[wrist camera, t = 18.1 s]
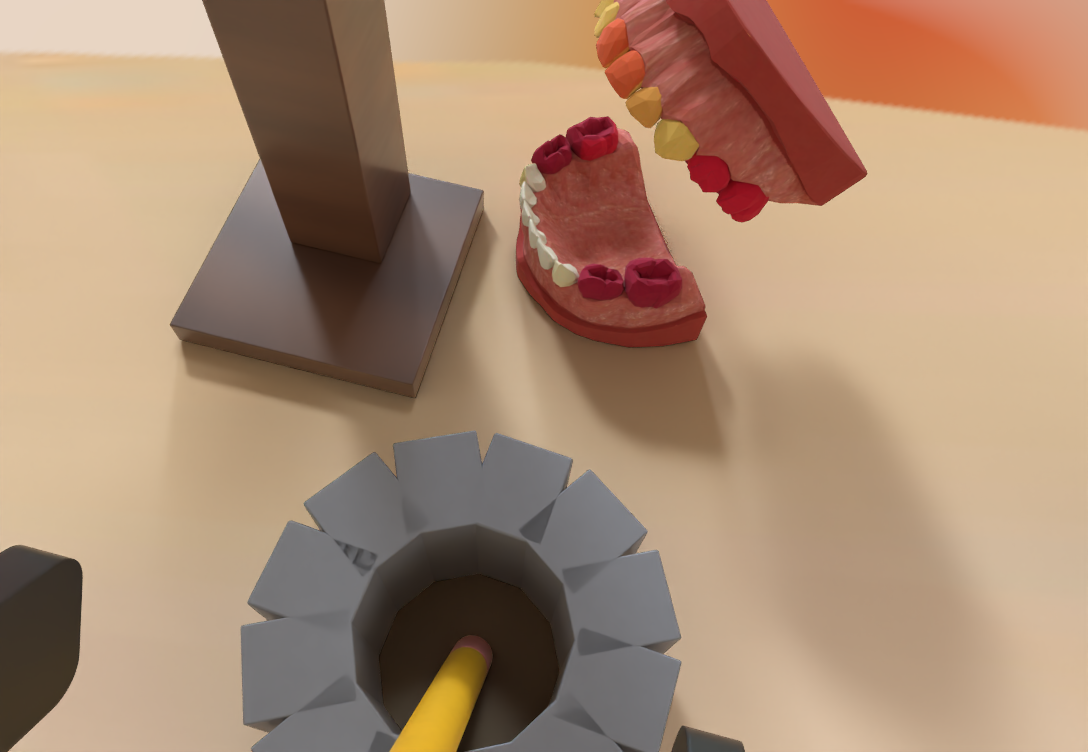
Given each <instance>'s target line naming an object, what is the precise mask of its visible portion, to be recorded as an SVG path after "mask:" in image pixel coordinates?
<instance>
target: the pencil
mask: <svg viewBox="0 0 1088 752" xmlns="http://www.w3.org/2000/svg"><path fill="white" fill-rule="evenodd" d="M492 657H493V656H492V650H491V647H490V646H489V644H488V643H487V642H486V641H485V640H484V639H483V638H481V637H479V636H474V635H470V636H465V637H463V638H461V639H460V640H459V641H458V642H457V643H456V644H455V646H454V647H453V649H452V650H451V652H450V654H449V655H448V657H447V659H446V660H445V662H444V663H443V665H442V667H441V668H440V670H439V672H438V673H437V675H436V676H435V678H434V680H433V681H432V683H431V685H430V686H429V688H428V689H427V691H426V693H425V694H424V696H423V698H422V699H421V701H420V703H419V704H418V706H417V707H416V709H415V711H414V712H413V714H412V716H411V717H410V719H409V720H408V722H407V724H406V725H405V727H404V729H403V730H402V732H401V733H400V735H399V737H398V738H397V740H396V742H395V743H394V745H393V746H392V748H391V750H390V751H389V752H456V751H457V748H458V746H459V743H460V741H461V738H462V736H463V733H464V731H465V728H466V726H467V723H468V721H469V718H470V716H471V713H472V711H473V708H474V706H475V703H476V701H477V698H478V696H479V693H480V691H481V688H482V686H483V683H484V681H485V678H486V676H487V673H488V671H489V668H490V666H491V663H492Z"/></svg>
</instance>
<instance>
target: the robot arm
mask: <svg viewBox="0 0 1088 752" xmlns="http://www.w3.org/2000/svg"><path fill="white" fill-rule="evenodd" d="M82 579H83V577H82V568H81V566H80V564H79V562H78V561H76V560H75V559H71V558H68V557H64V556H60V555H57V554H53V553H49V552H46V551H42V550H38V549H34V548H31V547H27V546H23V545H15V546H12V547H10V548H8V549H6V550H4V551H3V552H1V553H0V752H8V751H9V750H10V749H11V748H12V747H13V746H14V745H15V744H16V743H17V742H18V741H19V740H20V739H21V738H22V737H23V736H24V735H26V734H27V733H28V732H29V731H30V730H31V729H32V728H33V727H34V726H35V725H36V724H37V723H38V722H39V721H40V720H41V719H42V718H43V717H45V716H46V715H47V714H48V713H49V712H50V711H51V710H52V709H53V708H54V707H55V706H56V705H57V704H58V702H59V701H60V700H61V699H62V697H63V696H64V694H65V693H66V691H67V689H68V688H69V686H70V684H71V682H72V680H73V677H74V675H75V672H76V669H77V665H78V661H79V649H80V626H81V602H82ZM672 752H745V750H744V746H743V744H742V742H740V741H738V740H734V739H730V738H727V737H723V736H719V735H715V734H712V733H708V732H704V731H701V730H697V729H693V728H690V727H686V726H682V727H681V728H680V730H679V732H678V734H677V737H676V739H675V742H674V746H673V749H672Z"/></svg>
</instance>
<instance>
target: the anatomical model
mask: <svg viewBox="0 0 1088 752" xmlns="http://www.w3.org/2000/svg"><path fill="white" fill-rule="evenodd" d="M594 15H595V17H599V18H600V19H599V21H598V23H597V25H596V27H595V34H594V36H596V37H597V38H599V40H598V41H597V44H596V48H597V54H598V58H599V60H600V62H601V64H602V66H603V67H604V68H607V69H606V70H605V74H606V76H607V78H608V80H609V82H610V84H611V85H612V87H613V88H614V90H615V91H616V93H617V94H618V95H619V96H620V97H621V98H623V99H628V98H629V97H630V96H631V97H630V98H629V99H628V100H627V101H626V107H627V108H628V110H629V112H630V114H631V115H632V116H633V117H634V118H635V119H636V120H637V121H639V122H640V123H641V124H642V125H643V126H644V127H647V128H651V127H652V126H653V125H654V124H655V123H656V122H657V121H658V120H659V119H660V118H661V119H662V120H661V121H660V122H659V123H657V126H656V130H655V134H654V144H655V153H656V154H658V155H659V156H661V157H662V158H665V159H671V160H677V161H686V163H687V164H688V166H687V167H688V169H689V171H690V179H691V180H692V181H694V182H696V183H698V184H699V186H700V188H701V189H702V191H703V192H717V193H718V194H719V196H718V198H717V200H716V202H717V203H718V205H719V206H721V207H722V210H723V211H724V212H725V213H727V214H731V217H732V219H734V220H735V221H738V222H745V221H749V220H751V219H752V218H754V217H755V216H756V215H758V214H759V213H760V211H761V210H762V208H763V207H764V206H765V204H766V203H767V202H768V201H773V202H777V203H802V204H811V205H819V206H822V205H824V204H825V203H827V202H828V201H830V200H831V199H833V198H834V197H836V196H837V195H839V194H840V193H842V192H843V191H845V190H846V189H848V188H849V187H851V186H852V185H854V184H855V183H857V182H858V181H860V180H861V179H863V178H864V177H866V175H867V171H866V169H865V167H864V165H863V164H862V162H861V160H860V158H859V157H858V155H857V153H856V152H855V150H854V148H853V147H852V145H851V143H850V141H849V140H848V138H847V136H846V135H845V133H844V131H843V129H842V128H841V126H840V124H839V123H838V121H837V119H836V117H835V116H834V114H833V112H832V111H831V109H830V107H829V106H828V104H827V102H826V100H825V99H824V97H823V95H822V94H821V92H820V90H819V88H818V87H817V85H816V83H815V82H814V80H813V78H812V77H811V75H810V73H809V71H808V70H807V68H806V66H805V65H804V63H803V61H802V60H801V58H800V56H799V55H798V53H797V51H796V49H795V48H794V46H793V45H792V43H791V41H790V39H789V38H788V36H787V34H786V33H785V31H784V29H783V28H782V26H781V24H780V23H779V21H778V19H777V18H776V16H775V14H774V13H773V11H772V9H771V7H770V6H769V4H768V2H767V1H766V0H601V2H600V4H599V6H598V7H597V10H596V11H595V14H594ZM640 88H641V89H640ZM638 89H640V90H638ZM637 90H638V91H637ZM531 161H532V164H528V165H527V166H525V167H524V170H523V172H522V175H521V178H520V183H519V184H520V186H521V192H520V199H519V200H520V209H521V217H520V228H519V234H518V237H517V244H516V268H517V275H518V277H519V279H520V280H521V282H522V283H523V285H524V287H525V288H526V290H527V291H528V292H529V294H530V295H531V296H532V297H533V299H534V300H535V301H537V302H538V303H539V304H540V305H541V306H542V308H543V309H544V310H545V311H546V312H547V314H548V315H549V316H550V317H551V318H552V319H553V320H554V321H555V322H557V323H558V324H560V325H561V326H563V327H565V328H567V329H568V330H570V331H572V332H573V333H575V334H577V335H580V336H583V337H586V338H589V339H592V340H595V341H599V342H604V343H610V344H615V345H620V346H626V347H649V346H665V345H671V344H676V343H681V342H687V341H692V340H697V338H698V336H699V333H700V331H701V329H702V327H703V324H704V322H705V320H706V318H707V315H706V312H705V304H704V301H703V299H702V296H701V294H700V291H699V289H698V286H697V284H696V281H695V279H694V276H693V274H692V272H691V271H689V270H688V269H687V268H686V267H685V266H676V264H675V262H674V260H673V258H672V256H671V255H670V252H669V250H668V248H667V245H666V243H665V241H664V238H663V236H662V234H661V231H660V229H659V227H658V224H657V222H656V219H655V217H654V215H653V212H652V210H651V208H650V205H649V203H648V201H647V197H646V191H645V186H644V181H643V176H642V171H641V165H640V157H639V151H638V148H637V146H636V145H635V143H634V142H633V140H632V138H631V136H630V134H629V132H627V131H625V130H622V129H618V128H617V127H616V124H615V123H614V122H613V121H612V120H611V119H610V118H609V117H608V116H607V117H600V118H596V117H589V118H588V119H586V120H584V121H583V122H581V123H578V124H576V125H574V126H572V127H570V128H569V129H568V130H567V134H566V138H565V137H564V136H562V135H558V136H556V137H555V138H553V139H552V140H551V141H546V142H545V143H544V144H543V145H541V146H540V147H539V148H537V149H536V151H535V152H534V154H533V156H532V159H531Z"/></svg>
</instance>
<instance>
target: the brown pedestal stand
mask: <svg viewBox="0 0 1088 752" xmlns="http://www.w3.org/2000/svg"><path fill="white" fill-rule="evenodd" d="M202 1H203V4H204V6H205V9H206V12H207V14H208V17H209V20H210V23H211V26H212V28H213V31H214V34H215V37H216V39H217V42H218V44H219V48H220V50H221V53H222V56H223V58H224V61H225V64H226V67H227V69H228V72H229V75H230V78H231V80H232V83H233V86H234V89H235V91H236V94H237V97H238V99H239V102H240V105H241V108H242V110H243V113H244V116H245V119H246V121H247V124H248V127H249V130H250V132H251V135H252V138H253V140H254V143H255V146H256V149H257V151H258V154H259V157H260V159H259V161H258V163H257V165H256V167H255V169H254V170H253V172H252V174H251V176H250V178H249V180H248V181H247V183H246V185H245V187H244V189H243V191H242V193H241V194H240V196H239V198H238V200H237V202H236V204H235V205H234V207H233V209H232V211H231V213H230V215H229V216H228V218H227V220H226V222H225V224H224V226H223V227H222V229H221V231H220V233H219V235H218V237H217V239H216V240H215V242H214V244H213V246H212V248H211V250H210V251H209V253H208V255H207V257H206V259H205V261H204V262H203V264H202V266H201V268H200V270H199V272H198V273H197V275H196V277H195V279H194V281H193V283H192V285H191V286H190V288H189V290H188V292H187V294H186V296H185V297H184V299H183V301H182V303H181V305H180V307H179V308H178V310H177V312H176V314H175V316H174V318H173V319H172V321H171V323H170V326H171V327H172V329H173V330H174V332H175V333H176V335H177V336H178V338H179V339H180V340H184V341H188V342H192V343H196V344H200V345H204V346H208V347H212V348H216V349H220V350H224V351H228V352H232V353H236V354H240V355H244V356H248V357H252V358H256V359H260V360H264V361H268V362H272V363H276V364H280V365H284V366H288V367H292V368H296V369H300V370H304V371H308V372H312V373H316V374H320V375H324V376H328V377H332V378H337V379H341V380H345V381H349V382H353V383H357V384H361V385H365V386H369V387H373V388H377V389H381V390H385V391H389V392H393V393H397V394H401V395H405V396H409V397H413V398H415V397H416V395H417V392H418V389H419V387H420V384H421V381H422V378H423V375H424V373H425V370H426V367H427V364H428V362H429V359H430V356H431V353H432V350H433V348H434V345H435V342H436V339H437V336H438V334H439V331H440V328H441V325H442V323H443V320H444V317H445V314H446V311H447V309H448V306H449V303H450V300H451V298H452V295H453V292H454V289H455V286H456V284H457V281H458V278H459V275H460V273H461V270H462V267H463V264H464V261H465V259H466V256H467V253H468V250H469V247H470V245H471V242H472V239H473V236H474V234H475V231H476V228H477V225H478V222H479V220H480V217H481V214H482V211H483V209H484V192H483V190H479V189H475V188H471V187H466V186H462V185H458V184H453V183H449V182H445V181H440V180H436V179H432V178H427V177H423V176H419V175H414V174H410V173H408V169H407V161H406V154H405V147H404V140H403V133H402V125H401V118H400V111H399V104H398V97H397V89H396V82H395V75H394V68H393V61H392V53H391V46H390V39H389V32H388V25H387V17H386V10H385V3H384V0H202Z"/></svg>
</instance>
